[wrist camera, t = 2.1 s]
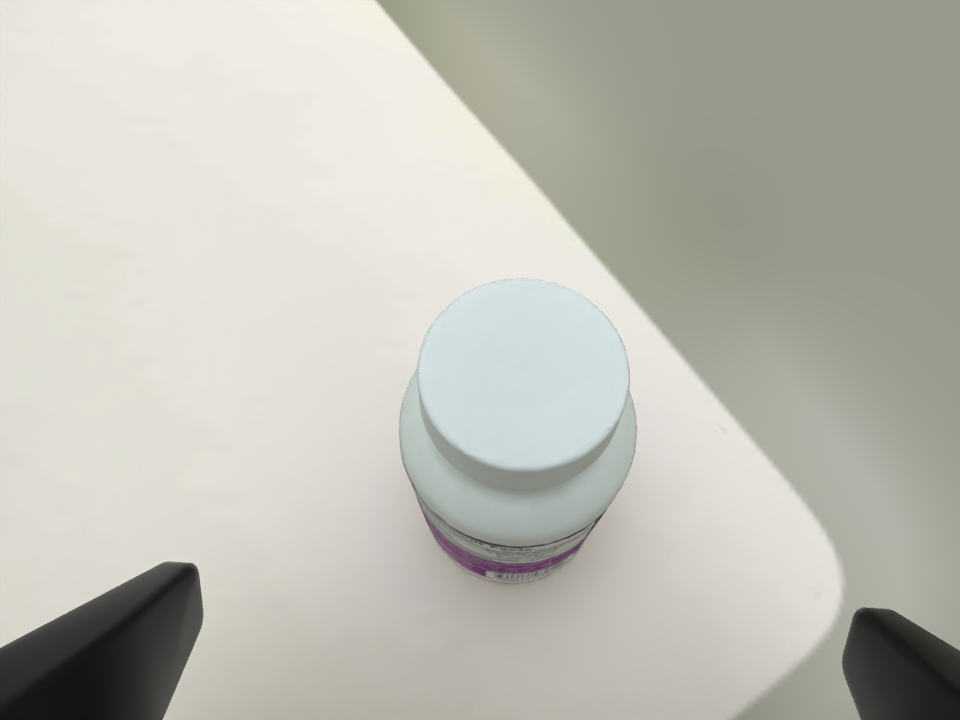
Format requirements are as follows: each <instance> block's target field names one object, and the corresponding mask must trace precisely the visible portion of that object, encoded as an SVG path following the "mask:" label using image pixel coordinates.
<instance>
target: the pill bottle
mask: <svg viewBox="0 0 960 720" xmlns="http://www.w3.org/2000/svg"><path fill="white" fill-rule="evenodd" d="M629 386H630V370H629V363H628V358H627V354H626V349H625V346H624V344H623V342H622V340H621V338H620V336H619V334H618V332H617V330H616V328H615V327H614V326H613V324H612V323H611V321H610V320H609V319H608V318H607V316H606V315H605V314H604V313H603V312H602V311H601V310H600V309H599V308H597V307H596V306H595V305H594V304H593V303H592V302H590V301H589V300H588V299H586V298H585V297H583V296H581V295H580V294H578V293H577V292H575V291H573V290H571V289H569V288H566V287H564V286H562V285H559V284H556V283H551V282H547V281H543V280H537V279H508V280H500V281H495V282H492V283H488V284H485V285H482V286H479V287H477V288H475V289H472V290H470V291H469V292H467V293H465V294H463V295H462V296H460V297H459V298H458V299H456V300H455V301H453V302H452V303H451V304H450V305H449V306H448V307H447V308H446V309H445V310H443V311H442V312H441V313H440V315H439V316H438V317H437V318H436V319H435V321H434V322H433V324H432V325H431V327H430V328H429V330H428V332H427V334H426V336H425V338H424V341H423V344H422V346H421V349H420V354H419V359H418V365H417V369H416V371H415V373H414V374H413V376H412V378H411V380H410V382H409V384H408V387H407V389H406V392H405V395H404V398H403V402H402V407H401V412H400V421H399V434H400V448H401V455H402V461H403V464H404V467H405V469H406V472H407V475H408V477H409V479H410V481H411V483H412V486H413V488H414V491H415V493H416V496H417V499H418V502H419V504H420V507H421V509H422V512H423V514H424V517H425V519H426V521H427V523H428V526H429V528H430V530H431V532H432V534H433V536H434V538H435V539H436V541H437V543H438V544H439V546H440V547H441V548H442V550H443V551H444V552H445V554H446V555H447V556H448V557H449V558H450V559H451V560H452V561H453V562H454V563H456V564H457V565H458V566H460V567H461V568H463V569H464V570H466V571H467V572H469V573H471V574H473V575H475V576H477V577H480V578H483V579H486V580H489V581H493V582H500V583H523V582H528V581H533V580H536V579H540V578H542V577H544V576H546V575H549V574H551V573H553V572H554V571H556V570H558V569H559V568H561V567H562V566H563V565H564V564H566V563H567V562H568V561H569V560H570V559H571V558H572V557H573V556H574V555H575V554H576V553H577V552H578V551H579V549H580V548H581V546H582V545H583V543H584V542H585V540H586V539H587V537H588V535H589V534H590V532H591V531H592V529H593V528H594V527H595V525H596V524H597V522H598V521H599V520H600V518H601V517H602V516H603V514H604V513H605V511H606V510H607V508H608V507H609V505H610V504H611V502H612V501H613V499H614V498H615V496H616V495H617V493H618V492H619V490H620V489H621V487H622V485H623V483H624V481H625V479H626V477H627V475H628V472H629V470H630V467H631V464H632V461H633V457H634V453H635V447H636V436H637V425H636V414H635V409H634V404H633V400H632V397H631V394H630V391H629Z"/></svg>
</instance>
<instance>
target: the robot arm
mask: <svg viewBox="0 0 960 720" xmlns="http://www.w3.org/2000/svg"><path fill="white" fill-rule="evenodd" d="M202 621H203V604H202V596H201V587H200V578H199V572H198V569H197V567H196V566H195V565H194V564H193V563H184V562H164V563H162V564H160V565H158V566H156V567H154V568H152V569H150V570H148V571H146V572H144V573H142V574H141V575H139V576H137V577H135V578H133V579H131V580H129V581H127V582H125V583H123V584H122V585H120V586H118V587H116V588H114V589H112V590H110V591H108V592H106V593H104V594H102V595H101V596H99V597H97V598H95V599H93V600H91V601H89V602H87V603H85V604H83V605H81V606H80V607H78V608H76V609H74V610H72V611H70V612H68V613H66V614H64V615H62V616H60V617H58V618H57V619H55V620H53V621H51V622H49V623H47V624H45V625H43V626H41V627H39V628H37V629H36V630H34V631H32V632H30V633H28V634H26V635H24V636H22V637H20V638H18V639H16V640H15V641H13V642H11V643H9V644H7V645H5V646H3V647H1V648H0V720H163V718H164V715H165V713H166V710H167V708H168V706H169V703H170V701H171V699H172V696H173V694H174V691H175V689H176V687H177V684H178V682H179V680H180V677H181V675H182V672H183V670H184V668H185V665H186V663H187V661H188V658H189V656H190V653H191V651H192V649H193V646H194V644H195V642H196V639H197V637H198V634H199V632H200V629H201V626H202ZM842 666H843V672H844V675H845V679H846V681H847V684H848V687H849V689H850V692H851V695H852V697H853V700H854V703H855V705H856V708H857V711H858V713H859V716H860V718H861V720H960V651H959V650H958V649H956V648H954V647H952V646H951V645H949V644H948V643H946V642H944V641H943V640H941V639H939V638H938V637H936V636H934V635H933V634H931V633H930V632H928V631H926V630H925V629H923V628H921V627H920V626H918V625H916V624H915V623H913V622H911V621H910V620H908V619H906V618H905V617H903V616H902V615H900V614H898V613H897V612H895V611H893V610H889V609H879V608H860V609H858V610H857V611H856V612H855V613H854V616H853V619H852V623H851V627H850V630H849V634H848V637H847V641H846V645H845V649H844V653H843V659H842Z"/></svg>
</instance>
